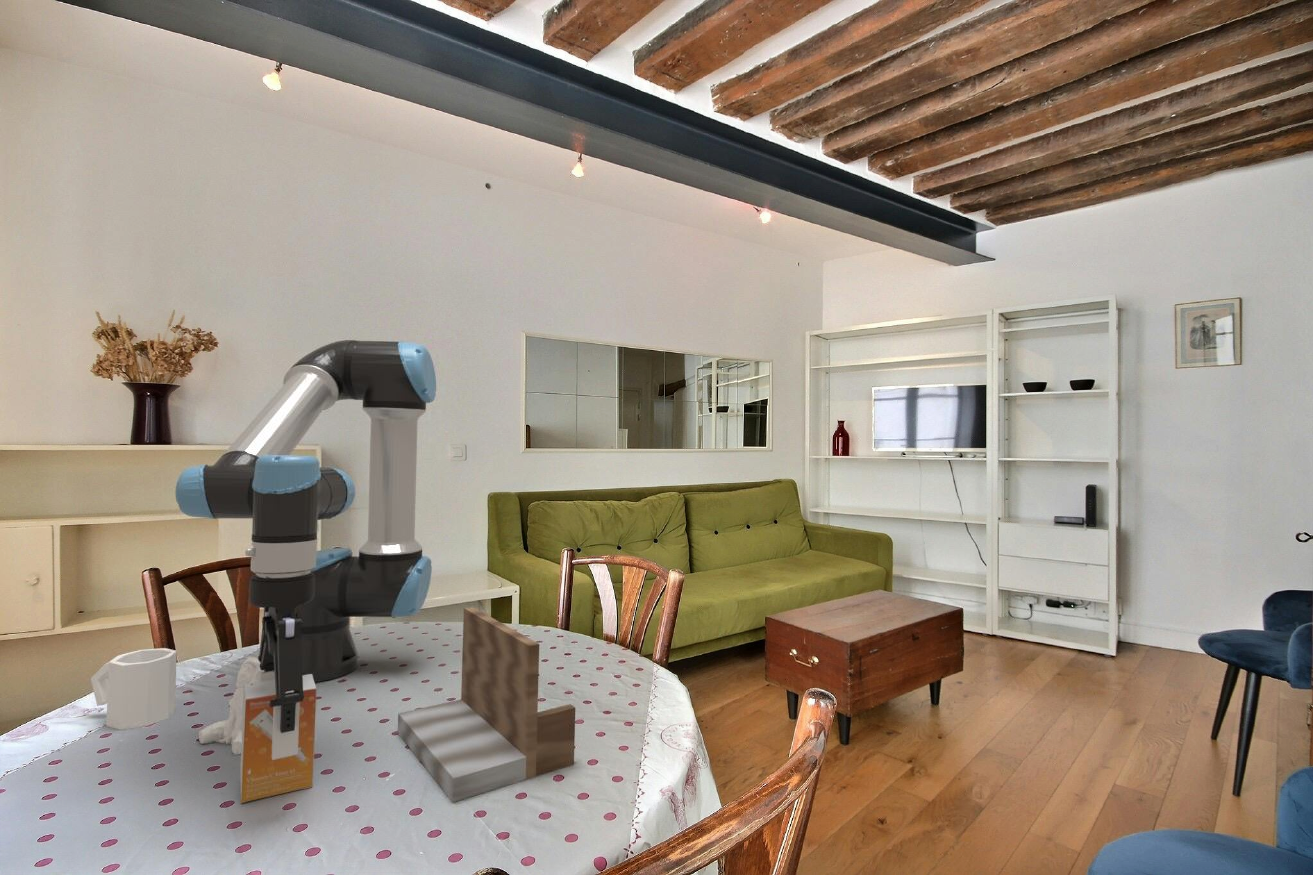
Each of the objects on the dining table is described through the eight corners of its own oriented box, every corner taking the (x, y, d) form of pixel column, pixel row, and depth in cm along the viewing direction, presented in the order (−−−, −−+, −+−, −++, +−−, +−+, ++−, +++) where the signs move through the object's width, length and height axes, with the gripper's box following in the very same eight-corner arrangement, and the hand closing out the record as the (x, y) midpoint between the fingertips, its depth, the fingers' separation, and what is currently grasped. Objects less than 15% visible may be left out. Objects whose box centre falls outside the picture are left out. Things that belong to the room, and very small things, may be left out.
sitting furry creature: (193, 743, 96) (196, 662, 96) (249, 721, 104) (252, 645, 104) (238, 756, 92) (241, 671, 93) (292, 732, 100) (294, 654, 101)
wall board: (397, 732, 101) (401, 616, 101) (503, 707, 112) (506, 602, 112) (452, 802, 82) (457, 658, 82) (573, 764, 93) (577, 637, 93)
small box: (240, 805, 80) (243, 699, 80) (239, 782, 86) (242, 682, 86) (314, 787, 85) (317, 687, 85) (309, 766, 90) (312, 672, 90)
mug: (186, 708, 108) (188, 648, 108) (145, 730, 100) (147, 666, 100) (114, 705, 108) (117, 646, 108) (67, 728, 100) (70, 663, 100)
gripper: (240, 561, 93) (233, 711, 92) (262, 592, 73) (254, 783, 73) (299, 557, 98) (293, 700, 97) (335, 585, 78) (328, 765, 77)
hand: (276, 736), depth 85 cm, fingers open, 13 cm apart
